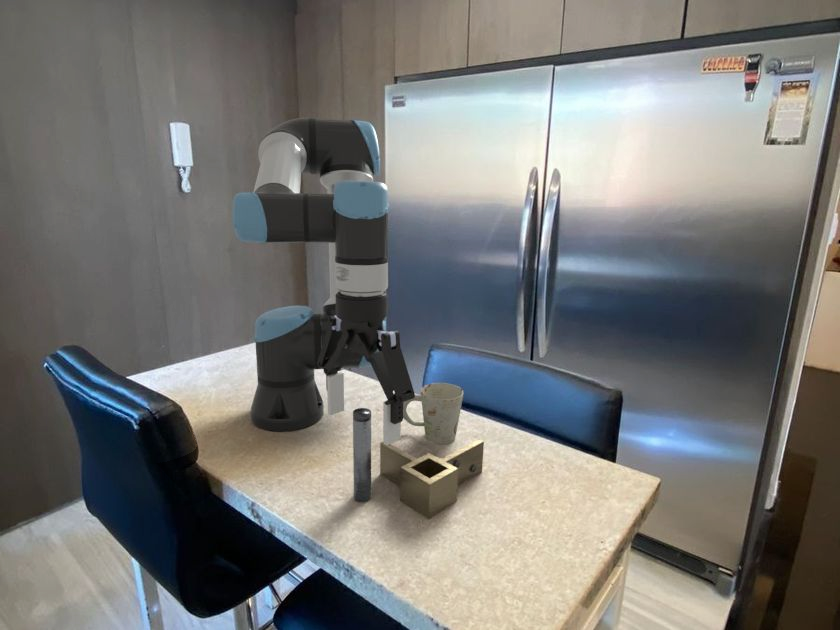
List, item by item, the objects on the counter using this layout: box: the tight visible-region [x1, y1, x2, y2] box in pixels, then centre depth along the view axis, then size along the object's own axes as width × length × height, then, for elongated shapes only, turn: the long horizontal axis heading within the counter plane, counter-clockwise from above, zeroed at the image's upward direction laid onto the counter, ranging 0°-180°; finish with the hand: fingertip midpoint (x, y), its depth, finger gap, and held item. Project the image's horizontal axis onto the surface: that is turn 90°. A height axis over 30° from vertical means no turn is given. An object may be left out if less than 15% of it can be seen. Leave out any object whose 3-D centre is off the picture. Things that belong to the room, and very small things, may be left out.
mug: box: [403, 382, 464, 445], centre depth 103 cm, size 8×13×10 cm, turn 78°
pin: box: [352, 407, 372, 504], centre depth 82 cm, size 3×3×15 cm
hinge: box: [379, 439, 485, 520], centre depth 88 cm, size 14×16×6 cm
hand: (362, 426), depth 80 cm, fingers open, 13 cm apart
